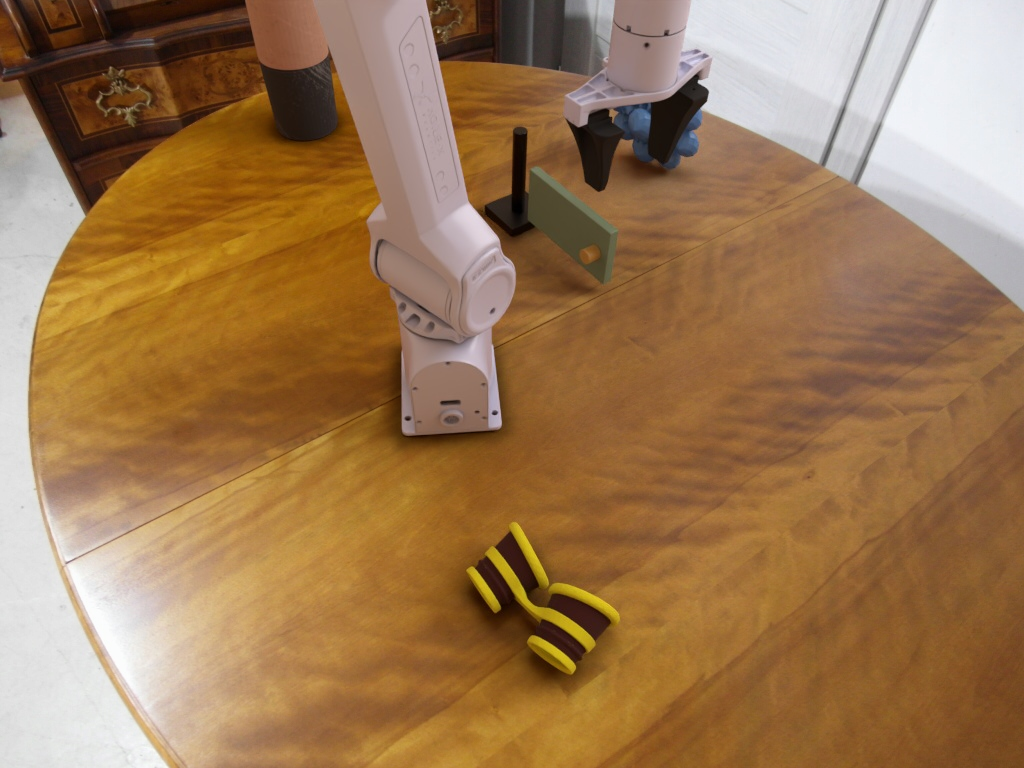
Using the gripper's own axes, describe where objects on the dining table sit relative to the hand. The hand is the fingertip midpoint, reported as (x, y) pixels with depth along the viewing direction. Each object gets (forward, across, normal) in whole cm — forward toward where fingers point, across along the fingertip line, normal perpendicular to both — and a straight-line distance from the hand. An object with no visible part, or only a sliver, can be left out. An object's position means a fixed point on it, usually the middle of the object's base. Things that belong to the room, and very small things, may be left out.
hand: (626, 171), depth 70 cm
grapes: (+10, -13, -10) cm, 19 cm away
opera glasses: (+10, +29, +26) cm, 40 cm away
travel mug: (+10, +15, -39) cm, 43 cm away
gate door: (+8, +5, -2) cm, 10 cm away
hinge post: (+9, +4, -10) cm, 15 cm away
